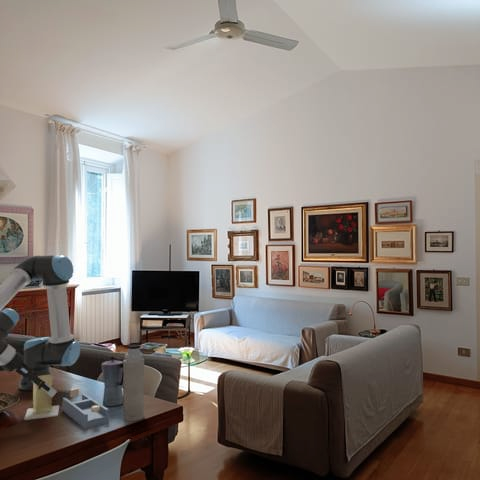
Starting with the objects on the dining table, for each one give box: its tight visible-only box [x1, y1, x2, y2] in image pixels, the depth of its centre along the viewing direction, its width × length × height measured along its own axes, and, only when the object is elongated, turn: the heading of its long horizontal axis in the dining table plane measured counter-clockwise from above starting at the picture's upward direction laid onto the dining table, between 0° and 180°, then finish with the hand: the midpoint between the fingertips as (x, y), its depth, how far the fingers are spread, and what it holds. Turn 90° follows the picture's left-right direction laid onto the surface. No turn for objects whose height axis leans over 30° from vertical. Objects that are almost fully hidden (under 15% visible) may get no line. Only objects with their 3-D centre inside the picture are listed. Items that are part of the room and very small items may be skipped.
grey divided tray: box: [62, 387, 110, 429], centre depth 171 cm, size 25×9×8 cm, turn 40°
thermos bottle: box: [122, 344, 145, 422], centre depth 170 cm, size 8×8×28 cm
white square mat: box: [23, 405, 60, 421], centre depth 174 cm, size 12×12×1 cm
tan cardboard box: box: [32, 375, 53, 415], centre depth 175 cm, size 4×6×14 cm, turn 131°
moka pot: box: [100, 355, 123, 407], centre depth 185 cm, size 10×15×20 cm, turn 55°
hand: (49, 390), depth 177 cm, fingers open, 11 cm apart
